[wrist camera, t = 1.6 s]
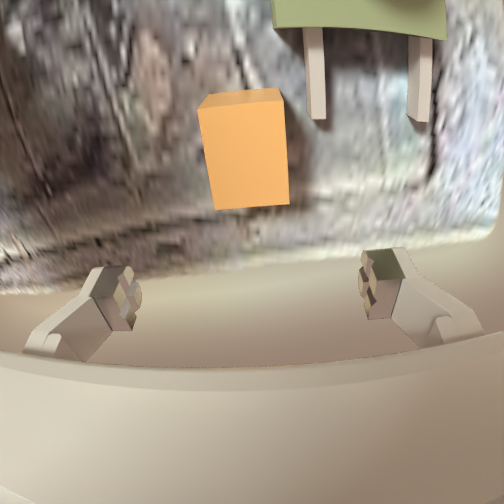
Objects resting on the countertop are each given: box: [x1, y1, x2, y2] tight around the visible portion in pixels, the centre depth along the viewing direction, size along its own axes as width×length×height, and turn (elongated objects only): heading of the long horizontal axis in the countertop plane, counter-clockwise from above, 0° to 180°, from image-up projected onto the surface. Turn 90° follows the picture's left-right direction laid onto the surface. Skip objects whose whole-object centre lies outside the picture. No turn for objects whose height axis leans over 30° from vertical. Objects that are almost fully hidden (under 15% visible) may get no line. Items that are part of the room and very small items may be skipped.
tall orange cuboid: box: [197, 88, 290, 210], centre depth 21 cm, size 5×7×5 cm
